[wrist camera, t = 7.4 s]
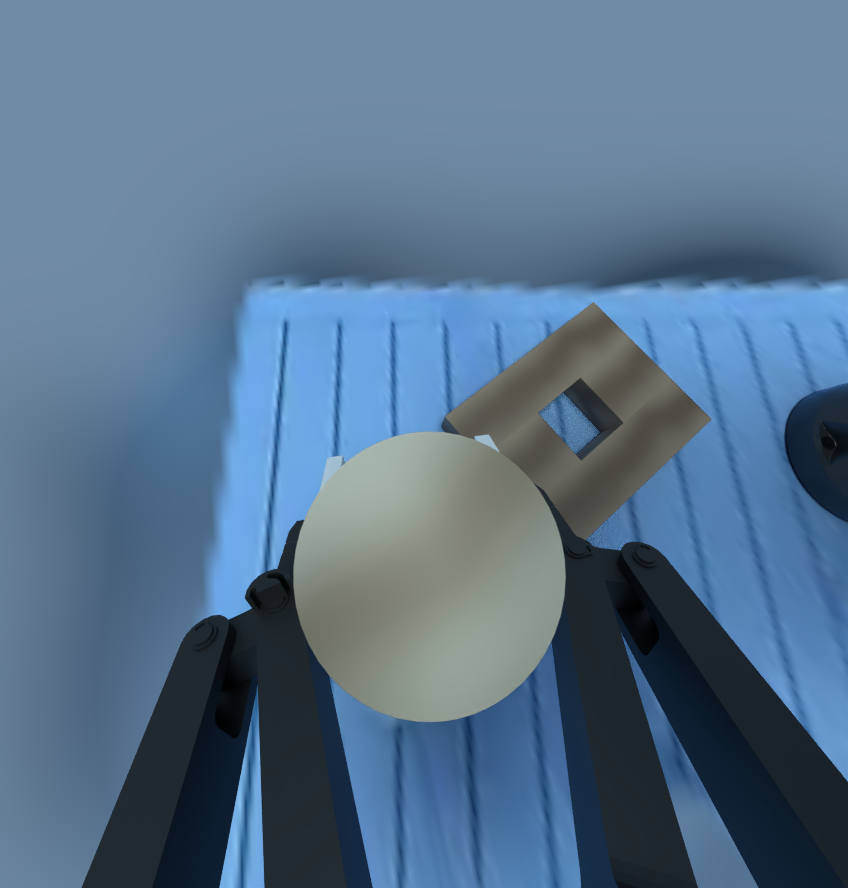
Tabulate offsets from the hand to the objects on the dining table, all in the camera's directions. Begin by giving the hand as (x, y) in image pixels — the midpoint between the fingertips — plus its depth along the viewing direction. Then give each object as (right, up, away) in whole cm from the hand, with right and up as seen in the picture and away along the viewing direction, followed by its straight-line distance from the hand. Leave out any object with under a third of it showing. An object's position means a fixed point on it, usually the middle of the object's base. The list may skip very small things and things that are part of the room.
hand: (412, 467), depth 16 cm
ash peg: (0, -4, +3) cm, 5 cm away
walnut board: (+15, +3, +16) cm, 22 cm away
